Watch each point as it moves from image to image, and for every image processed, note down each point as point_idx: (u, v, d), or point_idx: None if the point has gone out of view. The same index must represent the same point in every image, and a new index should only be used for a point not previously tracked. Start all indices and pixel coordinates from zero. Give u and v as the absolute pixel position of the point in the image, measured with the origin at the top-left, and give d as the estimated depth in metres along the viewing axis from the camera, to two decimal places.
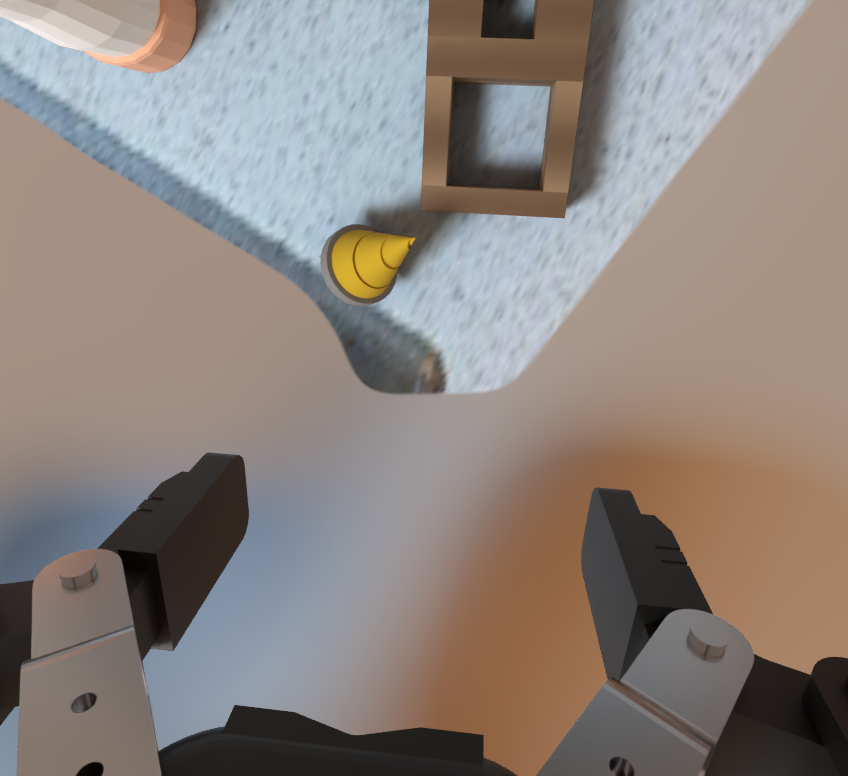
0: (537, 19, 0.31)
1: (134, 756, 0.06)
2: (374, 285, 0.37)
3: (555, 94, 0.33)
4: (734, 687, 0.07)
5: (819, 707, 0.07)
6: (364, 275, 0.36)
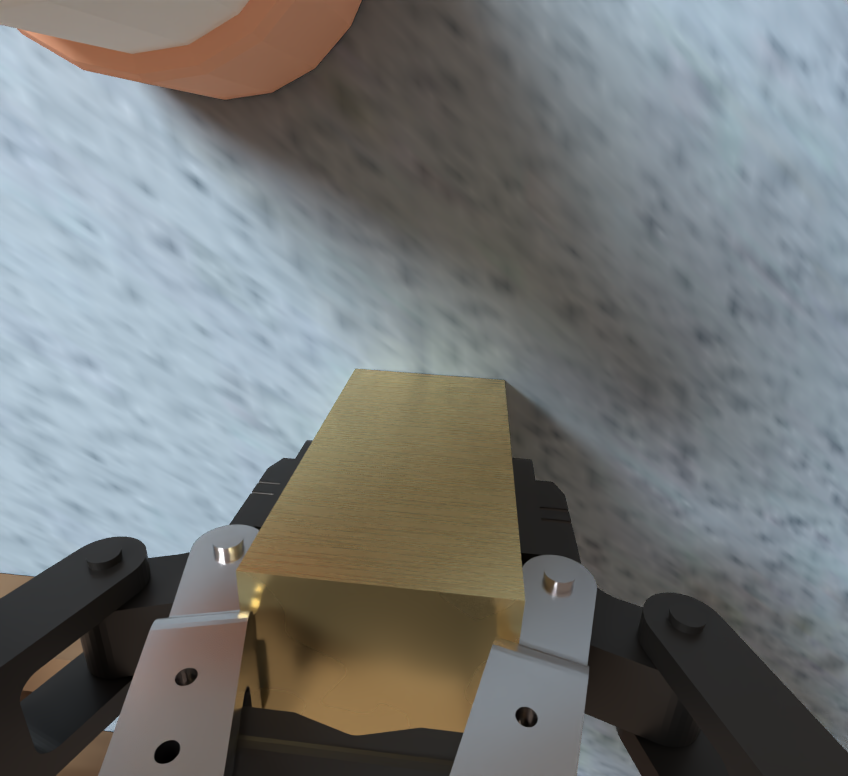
0: None
1: (208, 748, 0.06)
2: None
3: None
4: (570, 615, 0.08)
5: (654, 645, 0.08)
6: None
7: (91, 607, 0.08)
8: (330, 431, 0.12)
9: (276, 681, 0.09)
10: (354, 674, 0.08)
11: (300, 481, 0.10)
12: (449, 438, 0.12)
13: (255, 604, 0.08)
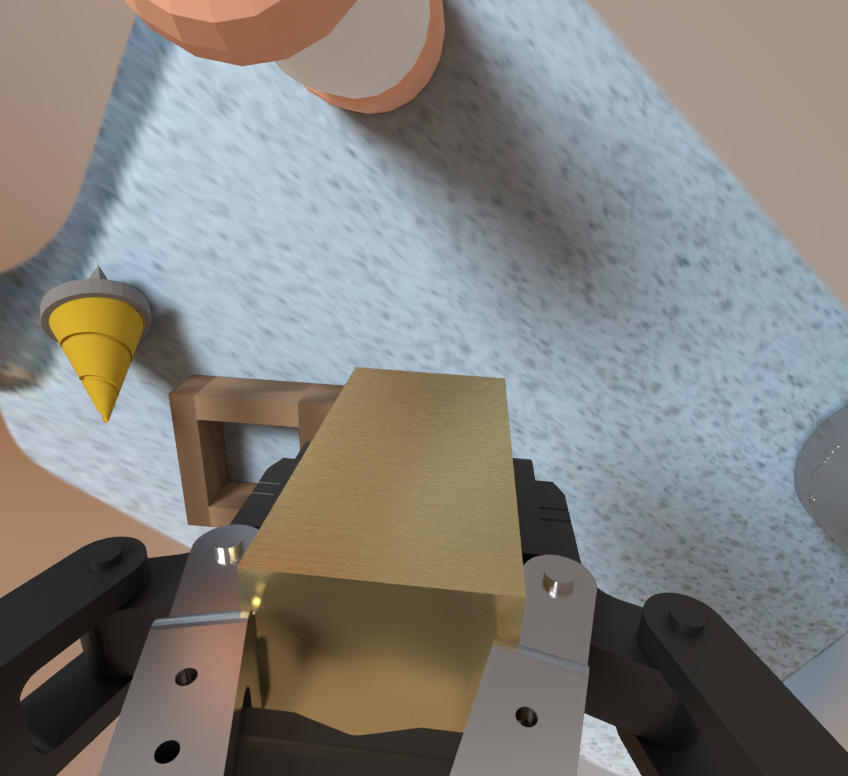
0: None
1: (209, 748, 0.06)
2: (64, 351, 0.30)
3: None
4: (570, 615, 0.08)
5: (654, 645, 0.08)
6: (66, 346, 0.29)
7: (91, 608, 0.08)
8: (331, 429, 0.12)
9: (277, 678, 0.09)
10: (354, 671, 0.08)
11: (301, 478, 0.10)
12: (450, 436, 0.12)
13: (256, 601, 0.08)
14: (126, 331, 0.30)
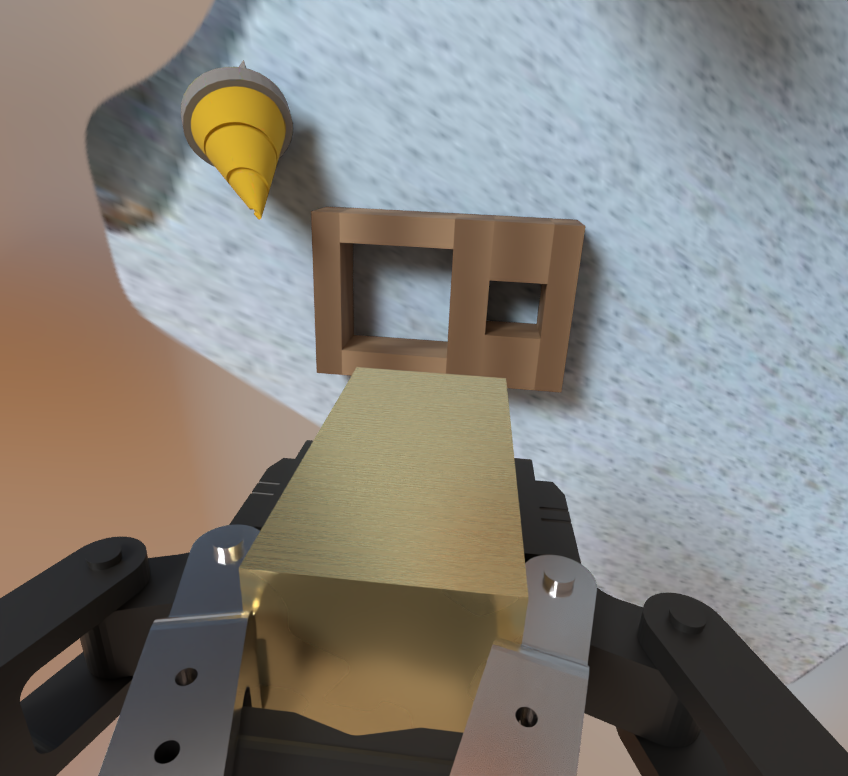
0: (502, 337, 0.31)
1: (208, 748, 0.06)
2: (206, 151, 0.28)
3: (434, 357, 0.32)
4: (570, 615, 0.08)
5: (654, 645, 0.08)
6: (214, 138, 0.27)
7: (91, 607, 0.08)
8: (332, 429, 0.12)
9: (279, 679, 0.09)
10: (356, 671, 0.08)
11: (302, 479, 0.10)
12: (451, 436, 0.12)
13: (258, 601, 0.08)
14: (274, 131, 0.28)
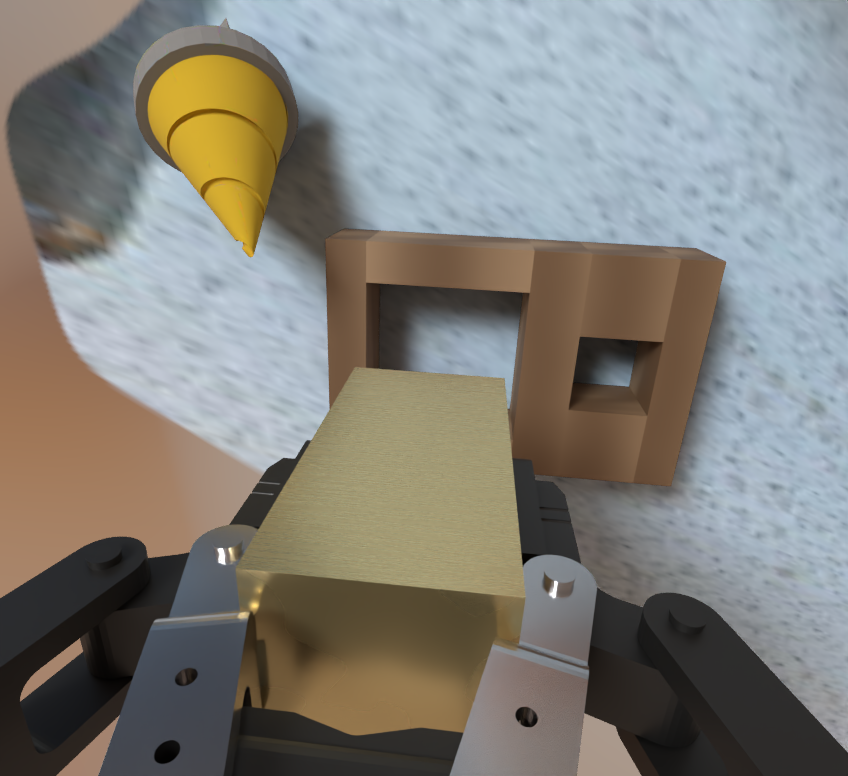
0: (593, 413, 0.22)
1: (209, 748, 0.06)
2: (171, 152, 0.18)
3: None
4: (570, 615, 0.08)
5: (654, 645, 0.08)
6: (181, 134, 0.18)
7: (91, 607, 0.08)
8: (330, 429, 0.12)
9: (276, 679, 0.09)
10: (353, 672, 0.08)
11: (300, 479, 0.10)
12: (449, 436, 0.12)
13: (255, 601, 0.08)
14: (271, 123, 0.19)
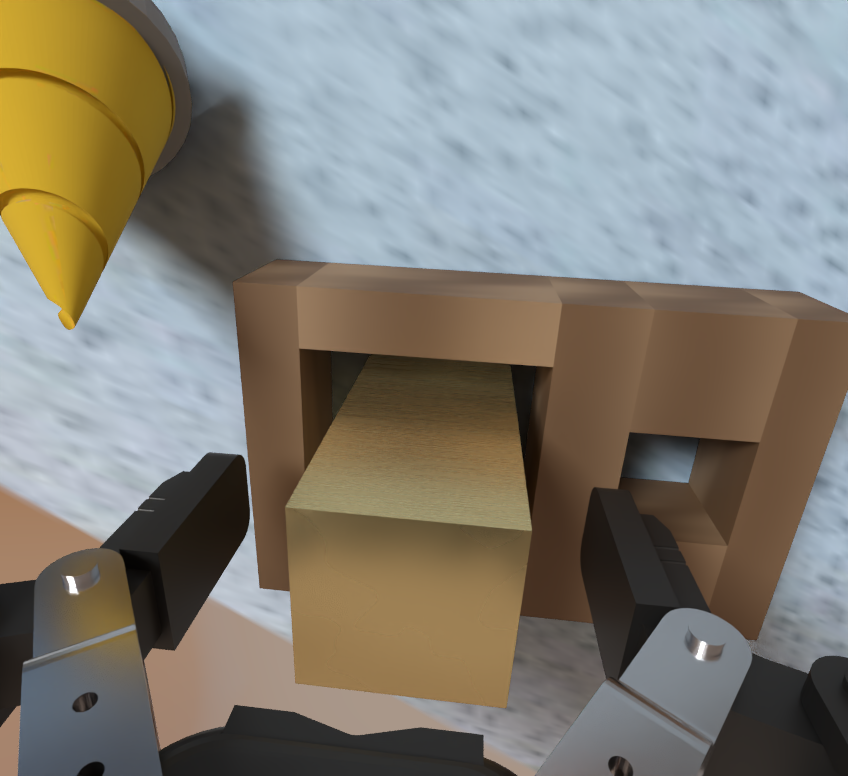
0: None
1: (137, 755, 0.06)
2: None
3: None
4: (732, 686, 0.07)
5: (816, 706, 0.07)
6: None
7: None
8: (355, 401, 0.13)
9: (316, 607, 0.10)
10: (383, 600, 0.10)
11: (332, 440, 0.11)
12: (462, 407, 0.13)
13: (301, 537, 0.09)
14: (130, 96, 0.11)
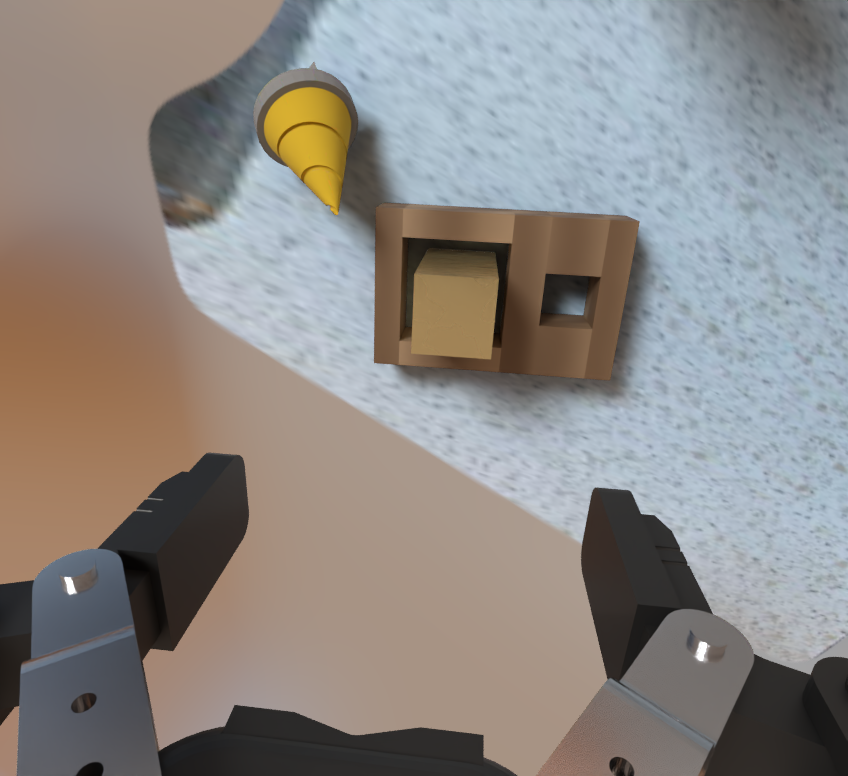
0: (555, 328, 0.32)
1: (136, 755, 0.06)
2: (280, 149, 0.29)
3: None
4: (734, 687, 0.07)
5: (818, 707, 0.07)
6: (290, 137, 0.28)
7: None
8: (427, 258, 0.31)
9: (421, 316, 0.28)
10: (446, 311, 0.27)
11: (423, 265, 0.29)
12: (473, 261, 0.31)
13: (418, 286, 0.27)
14: (344, 130, 0.29)
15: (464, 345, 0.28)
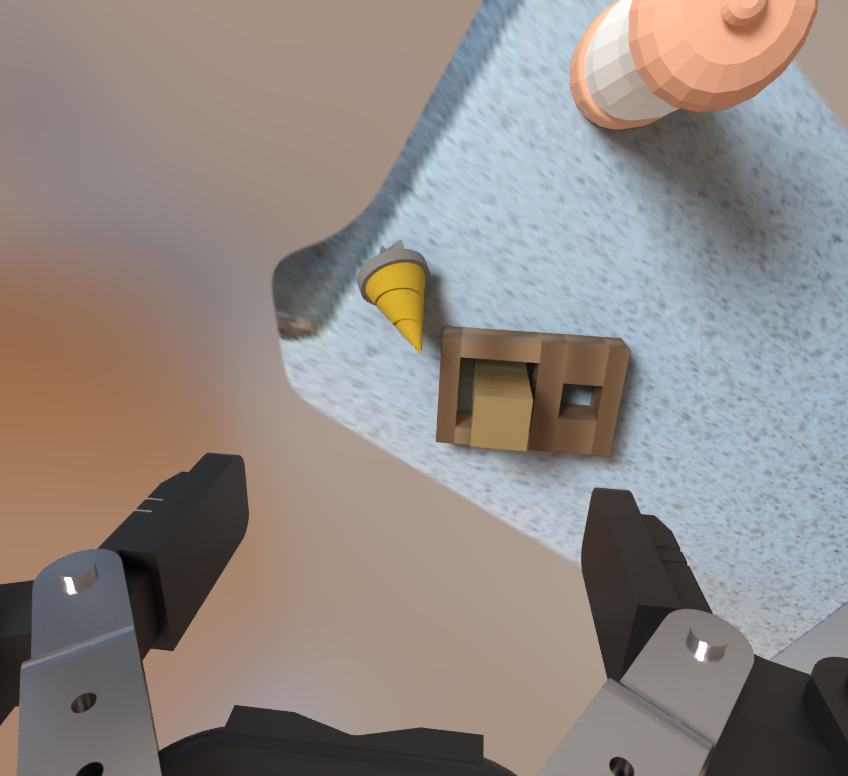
0: (570, 420, 0.44)
1: (136, 755, 0.06)
2: (378, 302, 0.41)
3: None
4: (734, 687, 0.07)
5: (819, 707, 0.07)
6: (387, 297, 0.40)
7: None
8: (478, 373, 0.43)
9: (478, 423, 0.40)
10: (496, 420, 0.40)
11: (478, 383, 0.41)
12: (511, 375, 0.43)
13: (477, 403, 0.39)
14: (422, 288, 0.41)
15: (508, 442, 0.40)
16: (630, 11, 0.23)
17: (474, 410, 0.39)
